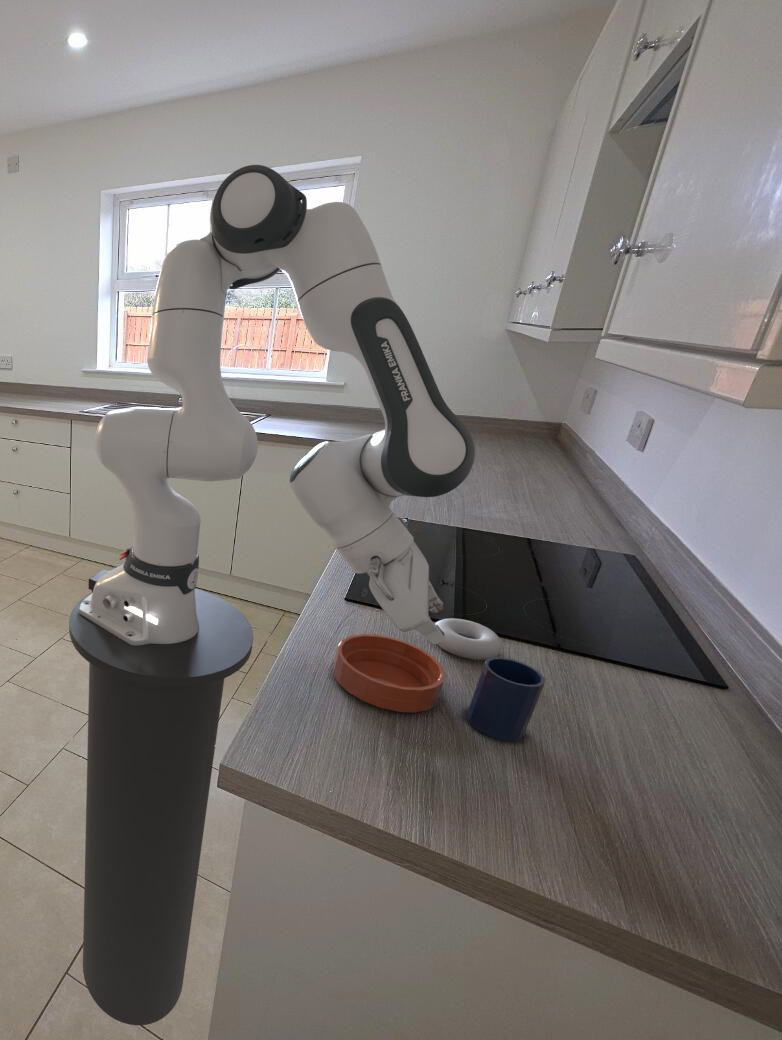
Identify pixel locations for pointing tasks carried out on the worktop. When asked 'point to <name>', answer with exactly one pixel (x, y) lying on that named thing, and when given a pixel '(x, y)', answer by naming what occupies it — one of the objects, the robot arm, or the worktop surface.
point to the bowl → (388, 673)
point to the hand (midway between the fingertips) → (439, 624)
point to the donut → (469, 639)
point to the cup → (505, 698)
